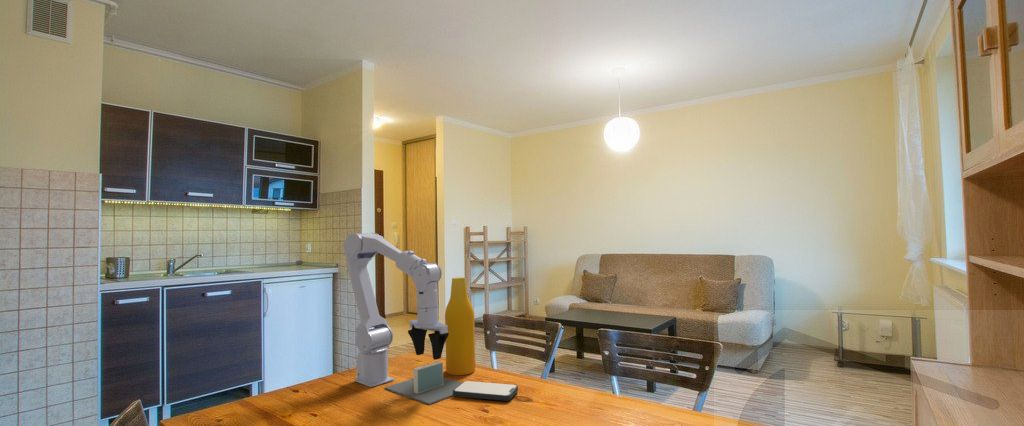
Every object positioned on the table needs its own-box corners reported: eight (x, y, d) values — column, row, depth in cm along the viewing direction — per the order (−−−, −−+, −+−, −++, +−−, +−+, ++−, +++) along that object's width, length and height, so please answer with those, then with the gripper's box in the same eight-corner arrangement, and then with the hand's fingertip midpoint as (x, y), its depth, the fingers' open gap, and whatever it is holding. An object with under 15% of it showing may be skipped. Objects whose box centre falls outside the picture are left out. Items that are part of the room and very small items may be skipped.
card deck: (414, 392, 123) (413, 368, 124) (439, 383, 130) (439, 361, 130) (417, 393, 122) (417, 369, 123) (443, 385, 129) (443, 361, 129)
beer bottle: (470, 365, 149) (468, 275, 150) (479, 373, 141) (477, 278, 142) (442, 369, 145) (440, 277, 147) (450, 377, 137) (448, 280, 138)
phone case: (451, 397, 120) (509, 402, 115) (450, 391, 120) (509, 396, 115) (464, 386, 128) (519, 390, 123) (464, 380, 128) (519, 384, 123)
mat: (384, 388, 128) (384, 387, 128) (430, 374, 140) (430, 373, 140) (429, 405, 115) (429, 403, 115) (475, 387, 127) (475, 386, 127)
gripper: (400, 306, 129) (400, 355, 129) (432, 311, 120) (433, 364, 119) (420, 303, 134) (421, 350, 134) (453, 307, 125) (454, 358, 124)
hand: (428, 356), depth 127 cm, fingers open, 7 cm apart
